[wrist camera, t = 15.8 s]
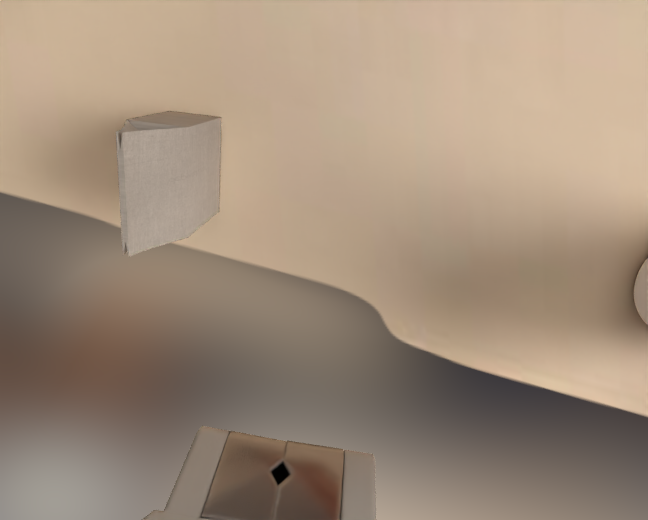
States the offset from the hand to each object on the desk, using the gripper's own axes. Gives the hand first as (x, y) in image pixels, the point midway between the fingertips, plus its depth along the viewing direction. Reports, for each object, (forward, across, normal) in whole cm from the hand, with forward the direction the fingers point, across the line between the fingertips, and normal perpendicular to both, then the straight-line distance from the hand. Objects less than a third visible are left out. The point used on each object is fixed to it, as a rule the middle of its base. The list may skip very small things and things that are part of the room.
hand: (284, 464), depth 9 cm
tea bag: (+28, +10, +4) cm, 30 cm away
